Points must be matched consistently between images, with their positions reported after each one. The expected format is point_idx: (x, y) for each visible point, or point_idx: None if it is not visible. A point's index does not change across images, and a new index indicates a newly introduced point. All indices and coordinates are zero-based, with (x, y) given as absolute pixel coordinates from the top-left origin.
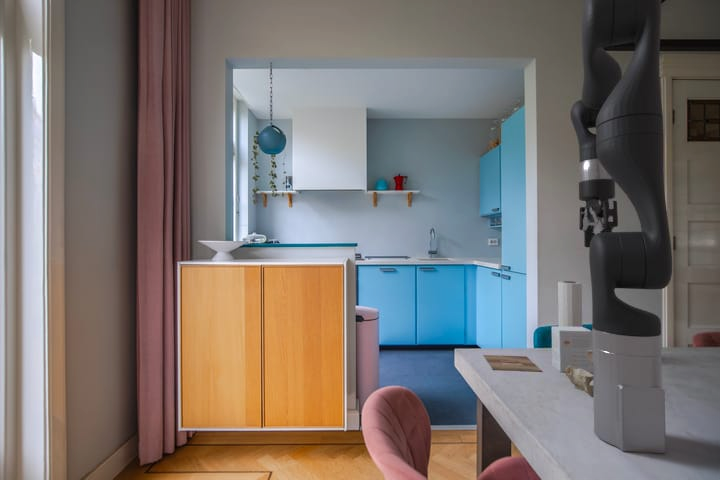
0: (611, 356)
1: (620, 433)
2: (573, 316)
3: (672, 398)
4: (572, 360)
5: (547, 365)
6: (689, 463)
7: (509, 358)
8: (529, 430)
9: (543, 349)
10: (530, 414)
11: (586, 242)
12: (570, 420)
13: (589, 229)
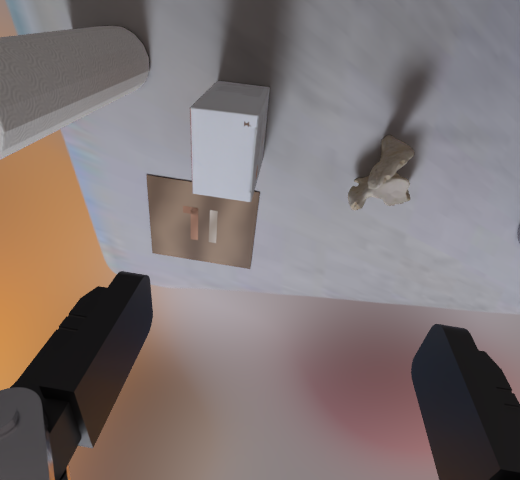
0: None
1: None
2: (91, 91)
3: (457, 7)
4: (262, 143)
5: None
6: None
7: (170, 216)
8: (490, 311)
9: None
10: (447, 292)
11: (136, 350)
12: (482, 258)
13: (55, 465)
